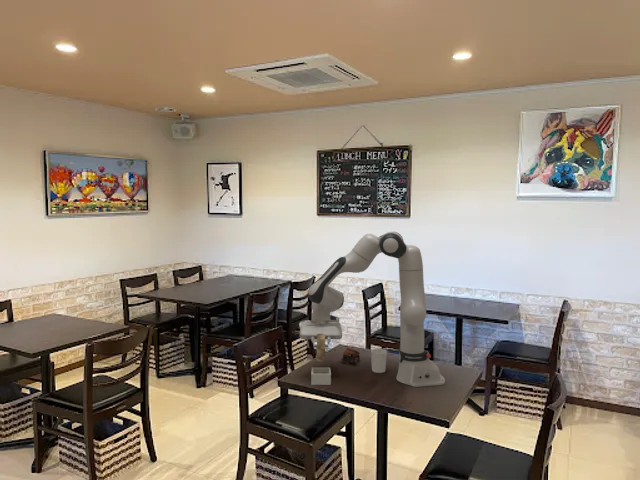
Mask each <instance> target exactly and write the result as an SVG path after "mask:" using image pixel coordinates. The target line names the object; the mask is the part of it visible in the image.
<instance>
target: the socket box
mask: <svg viewBox="0 0 640 480" xmlns="http://www.w3.org/2000/svg"><path fill="white" fill-rule="evenodd" d="M310 368H311V373H310V374H311V376H310V377H311V380H310V382H311V383H310V384H311V386H330V385H331V384H332V377H331V376H332V372H331V367H310Z"/></svg>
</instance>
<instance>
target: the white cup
mask: <svg viewBox="0 0 640 480" xmlns="http://www.w3.org/2000/svg"><path fill="white" fill-rule="evenodd" d="M387 355H388V350H386V349H383V348H374V349H371V350H370V360H371V362H370V363H371V371H372V372H373V373H377V374H382V373H385V372H386V369H387V367H386V366H387Z"/></svg>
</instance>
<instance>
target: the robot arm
mask: <svg viewBox="0 0 640 480" xmlns="http://www.w3.org/2000/svg"><path fill="white" fill-rule="evenodd" d="M380 253H382V254H383V255H385V256H387V257H390V258H395V259H397V262H398V276H399V291H400V292H399V293H400V305H399V314H400V315H399V322H400V323H399V324H400V327H399V330H400V341H399V342H400V344H399V351H398V362H399V363H398V370H397V371H398V372H397V373H396V377H395V378H396V380H397V381H398V382H399V383H402V384H404V385H409V386H411V387H413V388H419V387H431V386H443V385H445V384H446V378H445V377H444V376H443V375H442V374H441V372H440V368H439V367H438V365H437V364H436V363H434V362H433V361H432V360H430V358H432V355H431V354H430V353H429V352H428V351H427V350H425V326H424V325H425V323H424V322H425V319H426V317H427V306H426V305H427V304H426V294H425V287H424V286H425V284H424V281H425V280H424V265H423V257H422V252H421V249H420V248H419V247H418V246H416V245H411V244H409V245H408V244H406V243H405V241H404V238H403V236H402V234H400V233H399V232H397V231H387V232H386V233H384V234H382V235H380V236H377V235H374V234H372V233H366V234H364V235H363V236H362V238H360V239H359V240H358V242H356V244H355V245H354V246H353V248H352V249H351V251H350V252H348V253H347V254H346V255H344V256H339V258H337V259H336V260H335V261H334V262H333V263H332V264H331V265H330V266H329V268H328V269H326V271H324V273H323V274H322V275H321V276H320V277H319V278H318V279H317V280H316V281H315V282H313V283H312V284H311V285H310V286H309V288H308V290H307V291H308V292H307V295H308V298H309V300H310V302H311V310H312V313H311V320H302V321H300V322H299V324H298V325H299V329H300V330H299V338H300V339H301V340H310V341H311V343H312V344H313V348H317V341H315V340H317V334H325V340H327V341H325V348H329V344H330V343H331V340H341V339H342V338H343V329H342V325H341V323H340V318H339V317H338V316H336V315H332V314H330V313H334V312H336V311H338V310H339V309H341V308H342V307H343V305H344V303H345V296H344V293H343V292H341V291H340V290H337V289H336V288H333V287H332V286H331V287H330V284H331V283H332V282H333V281H334V280H335V279H336V278H337V277H338V276H339V275H340V274H345V273H353V274H355V273H362V272H365V271H366V270H367V269H368V268H369V267H370V266H371V264H372V263H373V261H374V259H375V258H376V257H377V256H378V255H379V254H380Z"/></svg>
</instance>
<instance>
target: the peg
mask: <svg viewBox="0 0 640 480" xmlns="http://www.w3.org/2000/svg"><path fill="white" fill-rule="evenodd" d="M316 342H317V347H316V361H317V362H325V361H326V347H325V342H326V339H325V334H317V339H316Z"/></svg>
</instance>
